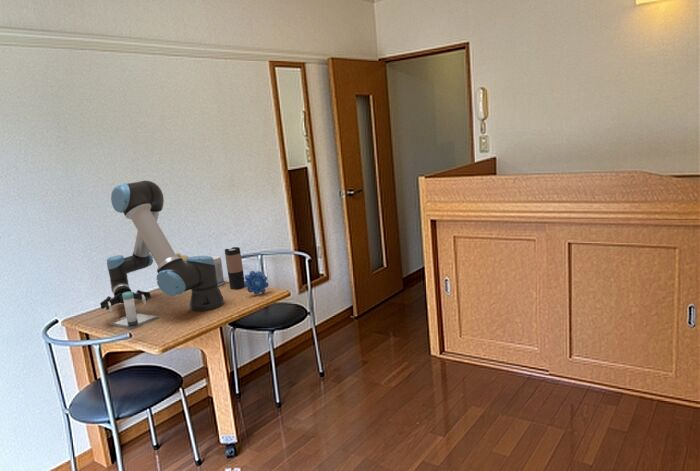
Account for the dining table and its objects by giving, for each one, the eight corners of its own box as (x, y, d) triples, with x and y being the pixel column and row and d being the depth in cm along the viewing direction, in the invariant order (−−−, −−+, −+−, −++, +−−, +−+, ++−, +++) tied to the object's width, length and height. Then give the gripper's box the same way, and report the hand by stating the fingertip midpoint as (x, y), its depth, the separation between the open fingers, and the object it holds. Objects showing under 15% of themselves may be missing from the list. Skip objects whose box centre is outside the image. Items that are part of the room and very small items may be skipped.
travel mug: (241, 289, 260) (236, 250, 256) (227, 289, 262) (221, 251, 258) (247, 284, 267) (242, 246, 264) (233, 285, 269) (228, 247, 265)
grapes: (248, 299, 243) (244, 274, 240) (244, 296, 249) (240, 271, 246) (272, 294, 248) (269, 269, 245) (267, 290, 254) (264, 266, 251)
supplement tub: (203, 288, 269) (199, 260, 266) (208, 283, 278) (204, 256, 275) (222, 286, 268) (218, 259, 265) (226, 281, 278) (222, 254, 275)
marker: (140, 323, 222) (135, 291, 219) (131, 327, 218) (126, 295, 215) (134, 322, 224) (128, 290, 221) (125, 325, 221) (119, 294, 218)
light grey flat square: (158, 317, 230) (158, 314, 230) (131, 329, 218) (130, 326, 218) (138, 314, 237) (138, 311, 237) (110, 325, 226) (110, 322, 225)
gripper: (152, 295, 247) (160, 306, 228) (94, 307, 235) (97, 320, 217) (149, 279, 245) (157, 289, 227) (91, 291, 234) (94, 303, 215)
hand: (128, 304), depth 222 cm, fingers open, 13 cm apart
